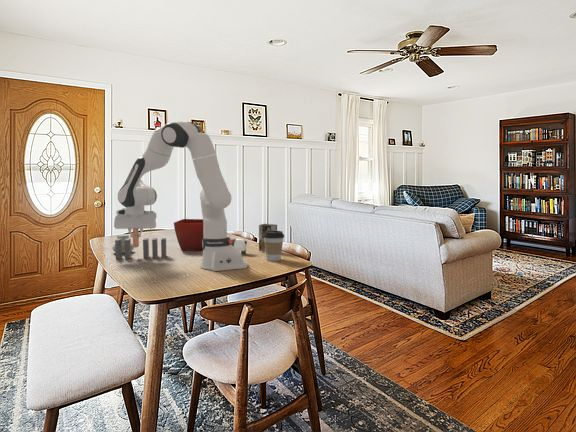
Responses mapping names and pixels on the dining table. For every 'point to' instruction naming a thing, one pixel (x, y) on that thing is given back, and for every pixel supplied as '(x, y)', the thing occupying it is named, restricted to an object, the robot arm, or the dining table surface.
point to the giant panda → (239, 245)
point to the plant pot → (189, 233)
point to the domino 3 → (135, 238)
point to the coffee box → (262, 231)
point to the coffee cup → (273, 244)
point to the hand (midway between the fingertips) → (135, 237)
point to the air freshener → (123, 243)
